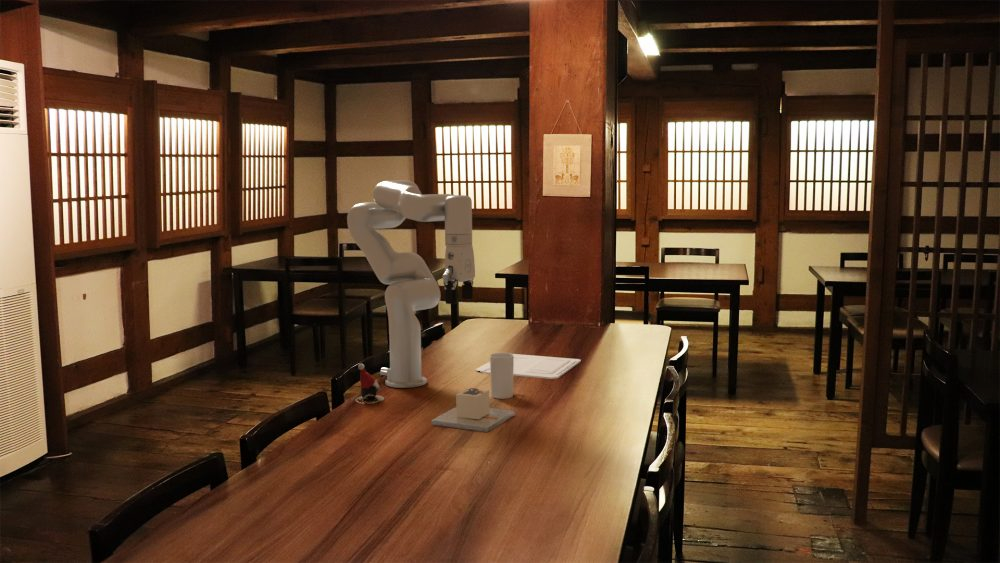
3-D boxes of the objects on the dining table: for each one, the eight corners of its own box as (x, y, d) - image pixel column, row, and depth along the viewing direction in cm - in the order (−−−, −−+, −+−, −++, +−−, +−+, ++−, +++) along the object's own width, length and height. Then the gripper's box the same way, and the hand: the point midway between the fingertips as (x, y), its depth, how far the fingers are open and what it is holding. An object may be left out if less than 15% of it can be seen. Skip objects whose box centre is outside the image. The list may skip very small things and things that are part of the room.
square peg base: (431, 424, 219) (431, 393, 218) (460, 408, 233) (459, 379, 232) (487, 432, 212) (487, 400, 211) (513, 415, 227) (513, 385, 226)
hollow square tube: (456, 417, 221) (455, 393, 220) (468, 410, 227) (467, 387, 226) (478, 419, 218) (478, 395, 218) (489, 412, 224) (488, 389, 223)
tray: (473, 373, 275) (473, 369, 275) (505, 356, 301) (505, 351, 301) (556, 381, 265) (556, 376, 265) (582, 362, 291) (582, 357, 290)
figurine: (395, 382, 247) (375, 363, 238) (384, 414, 243) (364, 396, 233) (371, 380, 251) (351, 361, 241) (360, 411, 246) (339, 393, 237)
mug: (508, 400, 242) (508, 358, 240) (486, 397, 244) (486, 356, 243) (521, 391, 251) (521, 351, 249) (500, 389, 253) (499, 349, 252)
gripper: (456, 243, 227) (457, 306, 229) (484, 238, 242) (485, 297, 245) (431, 242, 230) (432, 305, 232) (460, 237, 246) (461, 296, 248)
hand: (459, 301), depth 238 cm, fingers open, 9 cm apart
